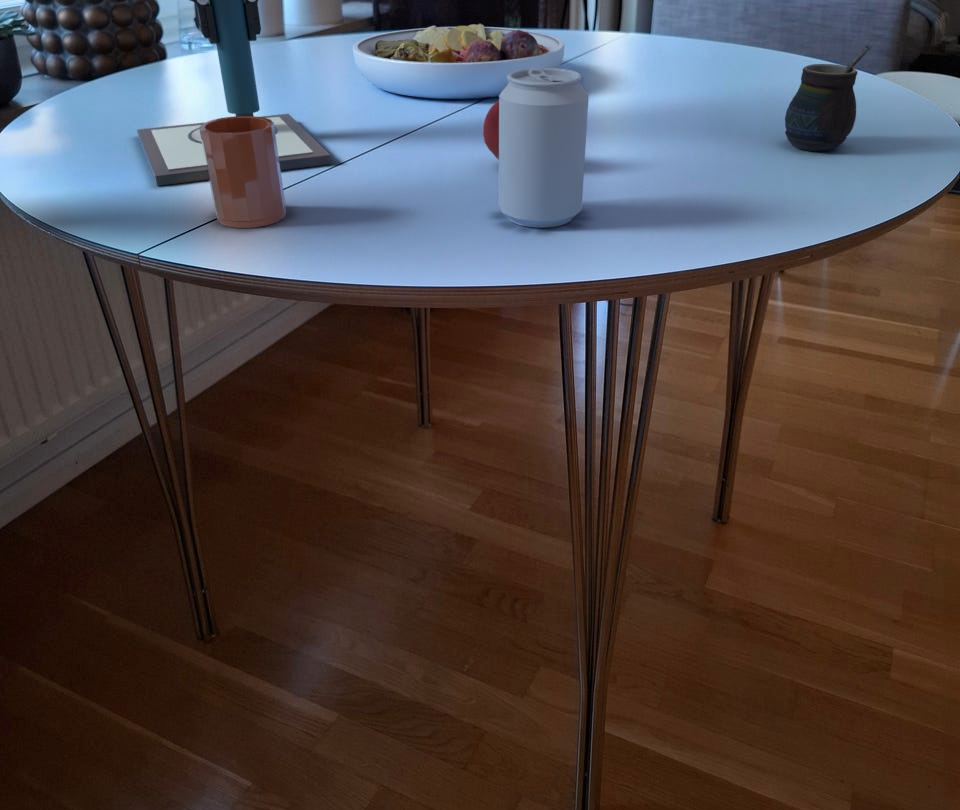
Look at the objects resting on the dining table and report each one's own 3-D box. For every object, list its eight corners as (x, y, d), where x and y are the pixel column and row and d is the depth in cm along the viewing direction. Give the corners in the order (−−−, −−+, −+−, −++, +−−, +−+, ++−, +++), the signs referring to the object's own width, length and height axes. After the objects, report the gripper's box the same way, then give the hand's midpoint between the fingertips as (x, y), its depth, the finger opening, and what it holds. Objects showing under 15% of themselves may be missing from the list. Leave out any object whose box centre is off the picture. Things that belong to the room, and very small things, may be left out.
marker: (233, 129, 97) (210, -7, 89) (227, 122, 100) (204, -11, 92) (264, 126, 99) (244, -9, 91) (258, 119, 101) (238, -13, 93)
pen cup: (223, 232, 75) (205, 137, 71) (212, 210, 80) (194, 120, 75) (293, 222, 77) (279, 129, 73) (278, 201, 82) (265, 113, 77)
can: (530, 237, 74) (535, 86, 67) (482, 213, 79) (481, 70, 72) (598, 220, 77) (609, 74, 70) (547, 198, 82) (553, 60, 75)
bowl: (314, 82, 125) (307, 21, 120) (461, 54, 142) (460, -1, 138) (456, 116, 108) (455, 47, 103) (605, 79, 125) (609, 18, 120)
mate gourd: (766, 141, 97) (783, 44, 91) (820, 134, 99) (841, 39, 94) (807, 158, 92) (828, 55, 86) (864, 150, 94) (888, 50, 88)
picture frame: (157, 186, 86) (154, 173, 86) (138, 138, 101) (136, 127, 100) (331, 164, 92) (330, 152, 91) (289, 122, 107) (288, 111, 106)
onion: (549, 167, 90) (552, 84, 86) (511, 179, 87) (512, 94, 82) (510, 156, 94) (511, 76, 89) (472, 167, 90) (470, 85, 86)
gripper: (265, -154, 89) (288, 32, 99) (122, -153, 85) (162, 41, 95) (281, -155, 83) (304, 42, 94) (129, -154, 79) (170, 52, 89)
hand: (232, 40), depth 94 cm, fingers closed on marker, 3 cm apart
